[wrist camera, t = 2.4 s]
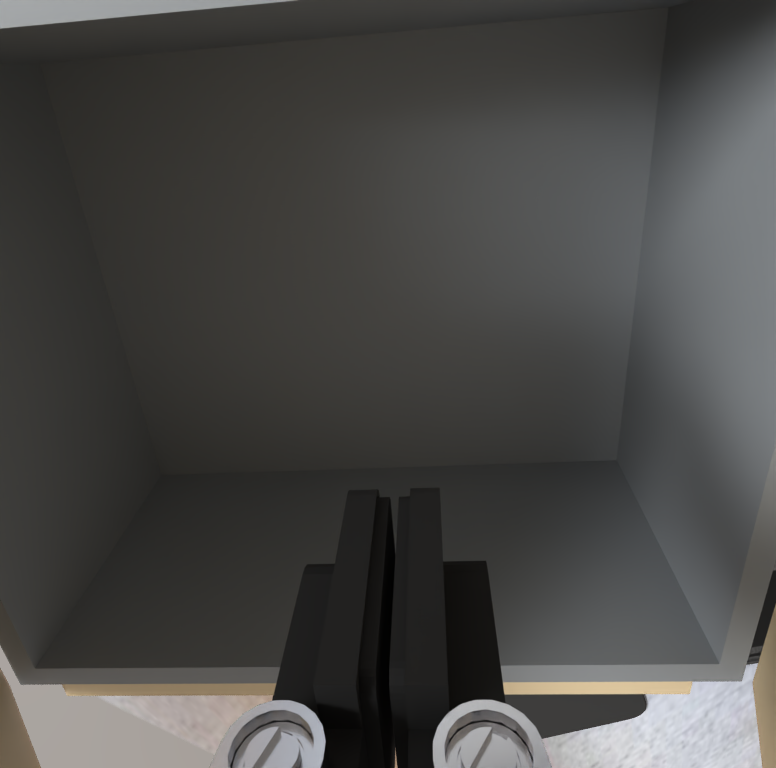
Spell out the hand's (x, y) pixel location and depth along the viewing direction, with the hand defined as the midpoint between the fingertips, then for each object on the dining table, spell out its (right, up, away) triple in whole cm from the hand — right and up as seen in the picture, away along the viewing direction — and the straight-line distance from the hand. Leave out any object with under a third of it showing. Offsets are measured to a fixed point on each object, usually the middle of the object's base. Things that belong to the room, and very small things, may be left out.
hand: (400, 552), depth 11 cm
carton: (-1, +8, +15) cm, 17 cm away
